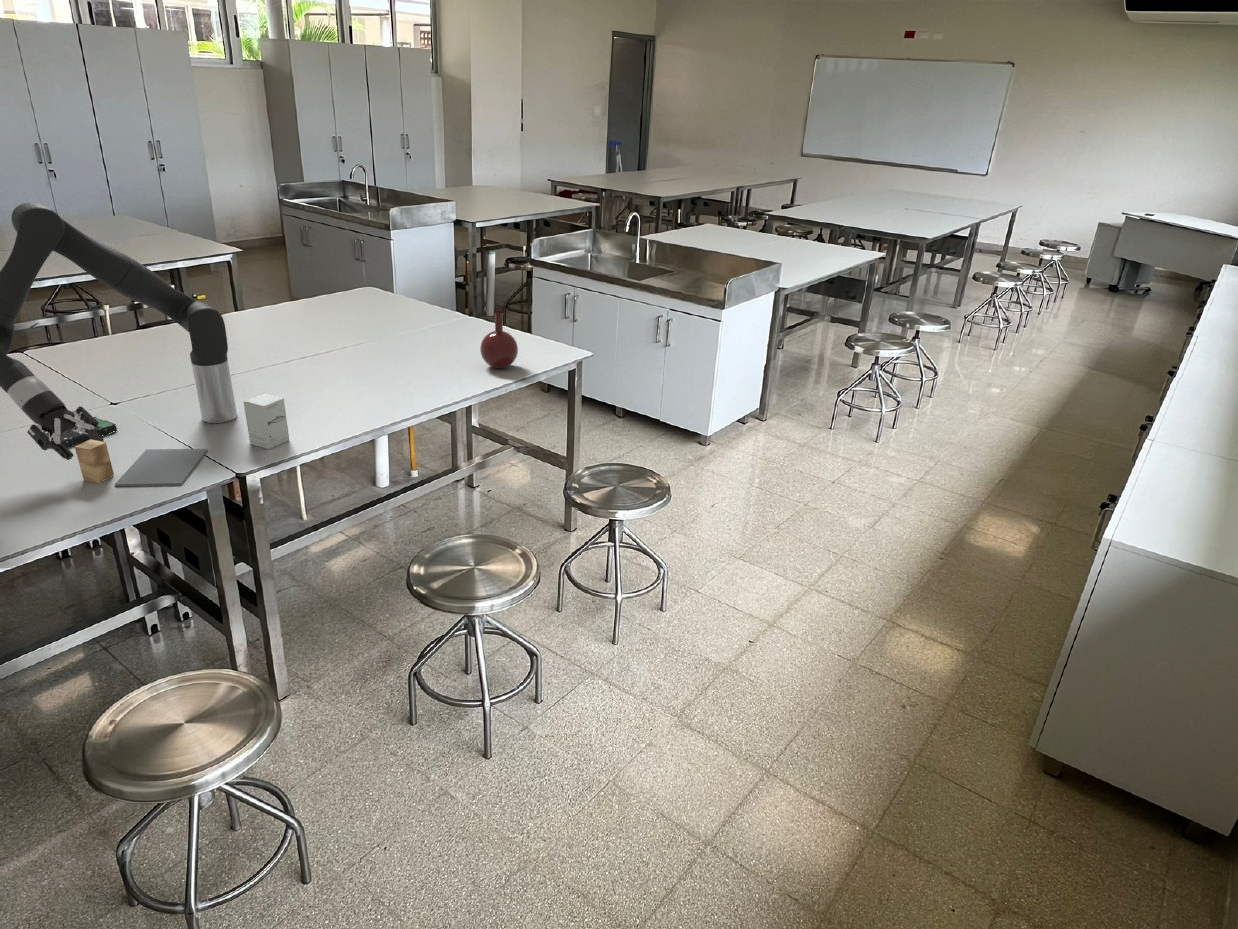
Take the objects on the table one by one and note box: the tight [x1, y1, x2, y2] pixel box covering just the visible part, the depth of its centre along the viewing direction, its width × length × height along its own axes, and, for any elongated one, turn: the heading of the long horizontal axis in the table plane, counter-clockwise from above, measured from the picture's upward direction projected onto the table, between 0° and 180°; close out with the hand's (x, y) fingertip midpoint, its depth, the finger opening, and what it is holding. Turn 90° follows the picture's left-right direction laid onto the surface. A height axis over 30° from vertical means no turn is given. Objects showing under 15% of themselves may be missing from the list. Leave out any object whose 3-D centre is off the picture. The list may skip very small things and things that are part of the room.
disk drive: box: [42, 416, 118, 449], centre depth 214 cm, size 10×3×15 cm
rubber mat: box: [113, 448, 209, 487], centre depth 200 cm, size 20×15×1 cm
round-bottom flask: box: [479, 310, 519, 369], centre depth 278 cm, size 13×13×20 cm
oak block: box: [74, 440, 115, 484], centre depth 191 cm, size 4×4×9 cm
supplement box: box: [243, 393, 290, 450], centre depth 214 cm, size 7×7×13 cm
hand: (86, 450), depth 191 cm, fingers open, 8 cm apart
